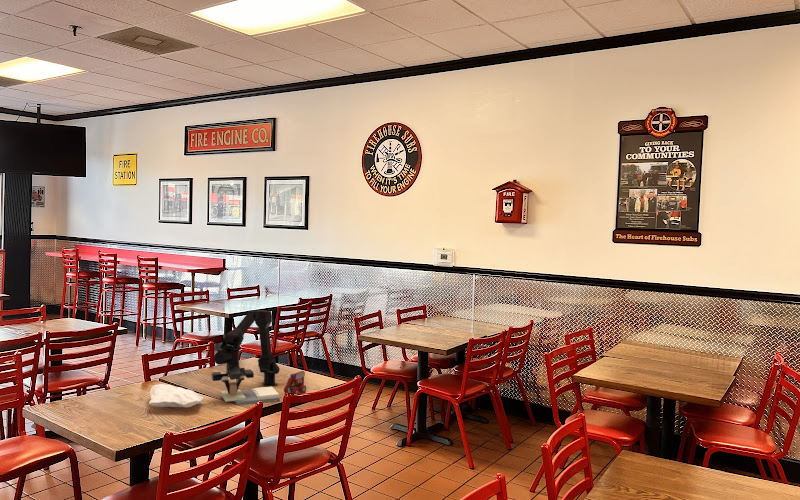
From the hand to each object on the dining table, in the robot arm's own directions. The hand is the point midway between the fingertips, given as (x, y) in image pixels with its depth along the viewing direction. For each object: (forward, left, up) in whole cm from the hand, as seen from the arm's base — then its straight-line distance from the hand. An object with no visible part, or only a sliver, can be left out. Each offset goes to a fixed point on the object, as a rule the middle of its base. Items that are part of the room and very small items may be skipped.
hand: (232, 393), depth 292 cm
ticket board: (0, +10, -3) cm, 11 cm away
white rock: (+1, -27, -4) cm, 27 cm away
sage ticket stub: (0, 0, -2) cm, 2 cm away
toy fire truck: (-1, +30, -4) cm, 31 cm away
